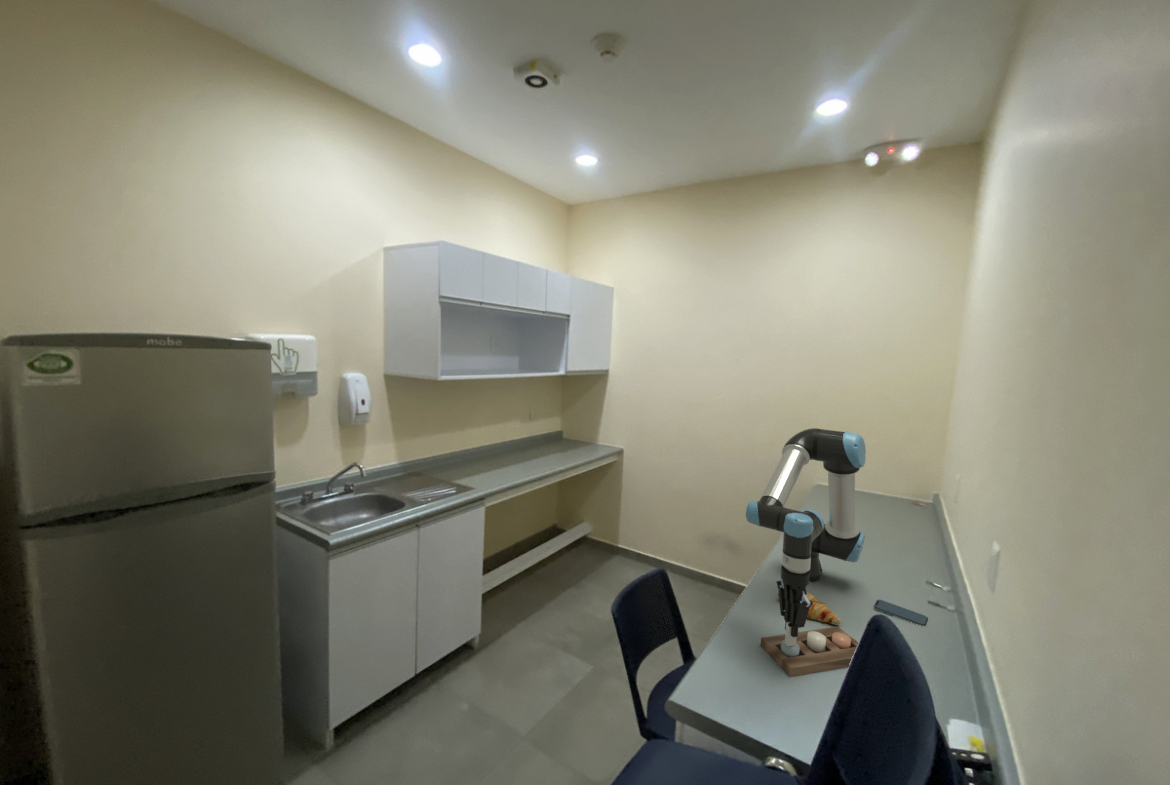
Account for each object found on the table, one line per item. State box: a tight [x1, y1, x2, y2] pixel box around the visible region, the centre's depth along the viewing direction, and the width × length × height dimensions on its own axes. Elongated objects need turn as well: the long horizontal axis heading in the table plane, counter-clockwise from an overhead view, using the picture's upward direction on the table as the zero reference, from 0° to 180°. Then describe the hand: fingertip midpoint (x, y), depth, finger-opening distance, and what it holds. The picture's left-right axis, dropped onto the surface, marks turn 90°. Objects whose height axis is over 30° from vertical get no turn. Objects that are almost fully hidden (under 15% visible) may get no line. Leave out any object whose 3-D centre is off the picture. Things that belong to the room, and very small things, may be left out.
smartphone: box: [873, 599, 929, 627], centre depth 162 cm, size 8×2×15 cm
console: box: [760, 625, 858, 678], centre depth 140 cm, size 14×28×2 cm, turn 104°
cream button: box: [807, 631, 826, 653], centre depth 140 cm, size 5×5×4 cm
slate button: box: [781, 640, 800, 658], centre depth 138 cm, size 5×5×4 cm
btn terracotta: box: [832, 632, 851, 649], centre depth 142 cm, size 5×5×4 cm
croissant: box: [777, 592, 841, 626], centre depth 162 cm, size 21×10×8 cm, turn 42°
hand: (790, 644), depth 138 cm, fingers closed
